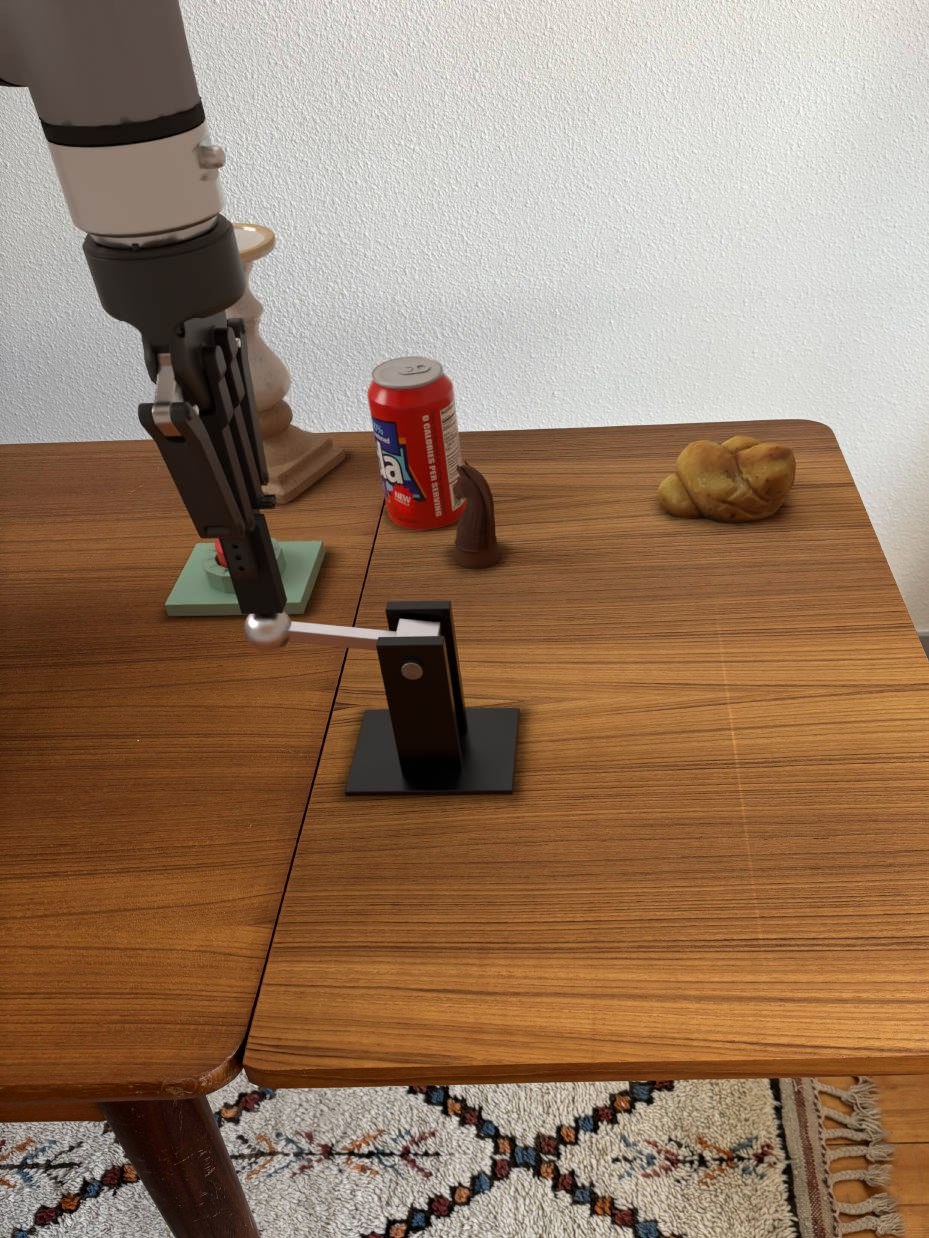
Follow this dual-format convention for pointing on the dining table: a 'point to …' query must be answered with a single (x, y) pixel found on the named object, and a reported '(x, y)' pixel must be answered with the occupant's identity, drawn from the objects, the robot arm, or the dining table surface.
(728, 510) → the bread roll
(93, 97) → the robot arm
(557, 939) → the dining table surface
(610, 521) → the dining table surface
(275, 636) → the silver lever handle
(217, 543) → the button
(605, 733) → the dining table surface
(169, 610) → the button block
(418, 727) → the lever stand
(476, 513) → the chess piece
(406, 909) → the dining table surface
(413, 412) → the soda can
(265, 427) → the candle holder
